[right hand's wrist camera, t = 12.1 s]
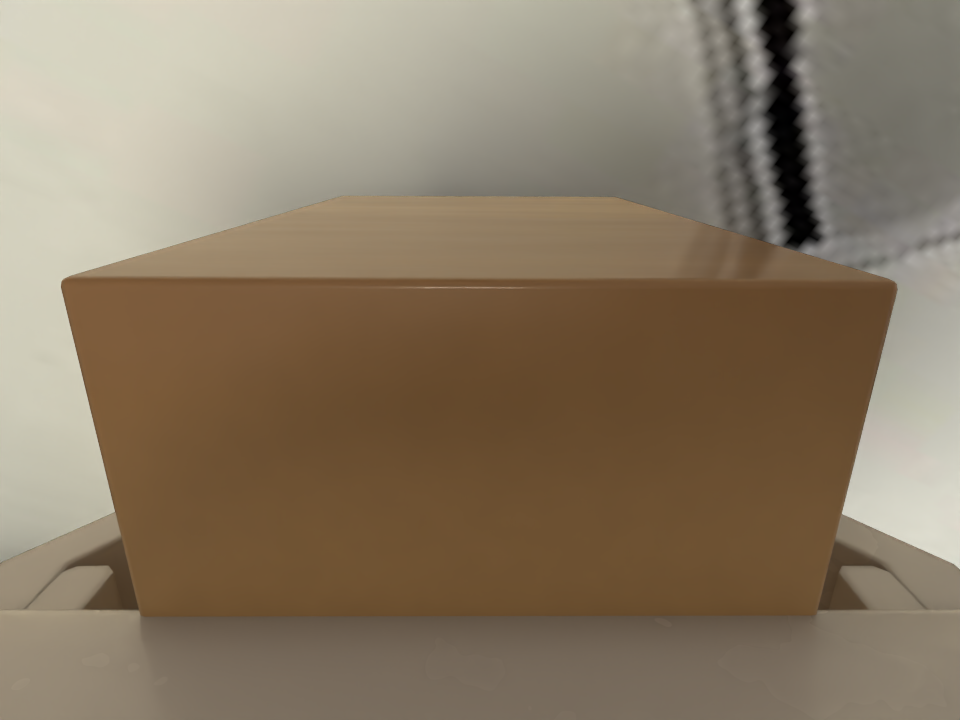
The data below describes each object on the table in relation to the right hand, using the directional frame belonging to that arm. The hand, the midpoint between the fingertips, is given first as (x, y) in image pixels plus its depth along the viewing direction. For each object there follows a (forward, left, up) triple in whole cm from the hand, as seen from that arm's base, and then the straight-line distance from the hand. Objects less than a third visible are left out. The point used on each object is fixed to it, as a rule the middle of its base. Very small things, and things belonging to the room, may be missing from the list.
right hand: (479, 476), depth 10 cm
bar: (+8, +5, -3) cm, 10 cm away
